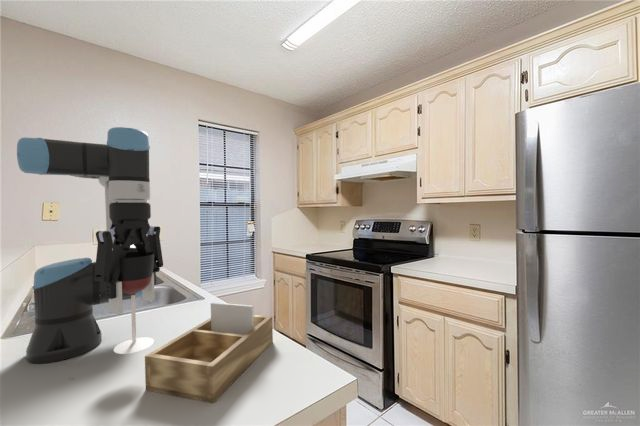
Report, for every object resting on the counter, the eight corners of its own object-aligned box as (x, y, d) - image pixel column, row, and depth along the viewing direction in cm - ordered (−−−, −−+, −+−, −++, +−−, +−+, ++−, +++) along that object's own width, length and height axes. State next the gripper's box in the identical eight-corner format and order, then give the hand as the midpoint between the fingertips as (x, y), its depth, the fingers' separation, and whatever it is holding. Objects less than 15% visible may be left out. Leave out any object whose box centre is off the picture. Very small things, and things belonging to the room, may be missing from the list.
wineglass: (136, 356, 60) (133, 258, 59) (101, 352, 62) (98, 257, 61) (164, 338, 68) (162, 252, 67) (132, 335, 69) (130, 251, 69)
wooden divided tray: (145, 390, 60) (144, 356, 60) (221, 335, 85) (221, 311, 85) (213, 403, 55) (212, 366, 55) (272, 341, 80) (272, 316, 80)
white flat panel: (211, 344, 77) (210, 303, 77) (213, 343, 78) (212, 302, 78) (252, 350, 74) (251, 306, 74) (254, 348, 75) (253, 305, 74)
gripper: (96, 201, 53) (100, 326, 54) (179, 201, 72) (181, 293, 73) (66, 201, 55) (70, 322, 56) (154, 201, 74) (156, 291, 75)
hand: (133, 306), depth 64 cm, fingers closed on wineglass, 7 cm apart
